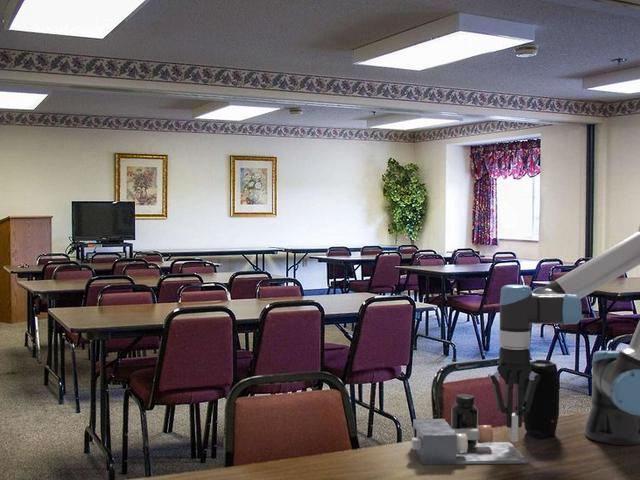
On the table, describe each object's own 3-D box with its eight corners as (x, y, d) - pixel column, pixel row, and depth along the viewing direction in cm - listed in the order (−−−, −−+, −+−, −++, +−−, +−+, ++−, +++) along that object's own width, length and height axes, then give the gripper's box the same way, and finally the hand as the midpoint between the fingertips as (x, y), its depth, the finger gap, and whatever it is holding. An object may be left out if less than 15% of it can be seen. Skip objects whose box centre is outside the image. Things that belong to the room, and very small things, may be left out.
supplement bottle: (466, 447, 194) (466, 400, 193) (445, 441, 199) (445, 395, 198) (482, 442, 198) (483, 396, 198) (461, 436, 203) (462, 391, 203)
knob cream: (463, 449, 187) (463, 431, 186) (467, 454, 182) (467, 436, 182) (410, 449, 186) (410, 431, 186) (413, 455, 182) (413, 437, 181)
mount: (509, 445, 196) (510, 418, 195) (527, 463, 182) (527, 434, 181) (412, 446, 194) (413, 419, 194) (422, 464, 180) (423, 435, 180)
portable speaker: (563, 438, 201) (564, 365, 200) (528, 439, 200) (529, 365, 200) (551, 429, 210) (552, 358, 209) (517, 430, 209) (518, 359, 208)
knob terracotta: (488, 440, 194) (488, 422, 194) (492, 445, 190) (493, 427, 189) (437, 440, 193) (437, 423, 193) (440, 446, 189) (441, 428, 189)
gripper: (535, 344, 195) (533, 435, 196) (485, 344, 194) (483, 435, 195) (545, 349, 188) (543, 444, 189) (493, 349, 187) (491, 444, 188)
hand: (513, 439), depth 192 cm, fingers closed
